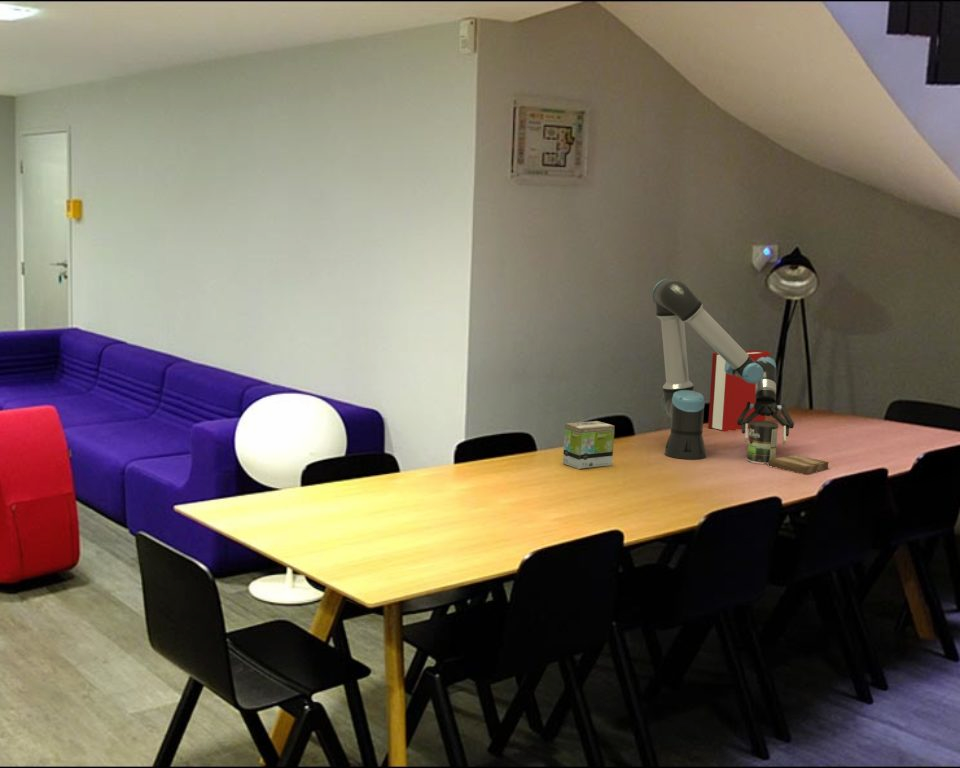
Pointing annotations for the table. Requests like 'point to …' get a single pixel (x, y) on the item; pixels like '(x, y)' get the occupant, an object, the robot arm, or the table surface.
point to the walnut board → (798, 464)
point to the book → (730, 394)
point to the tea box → (588, 444)
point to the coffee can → (762, 441)
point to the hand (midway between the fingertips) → (765, 441)
